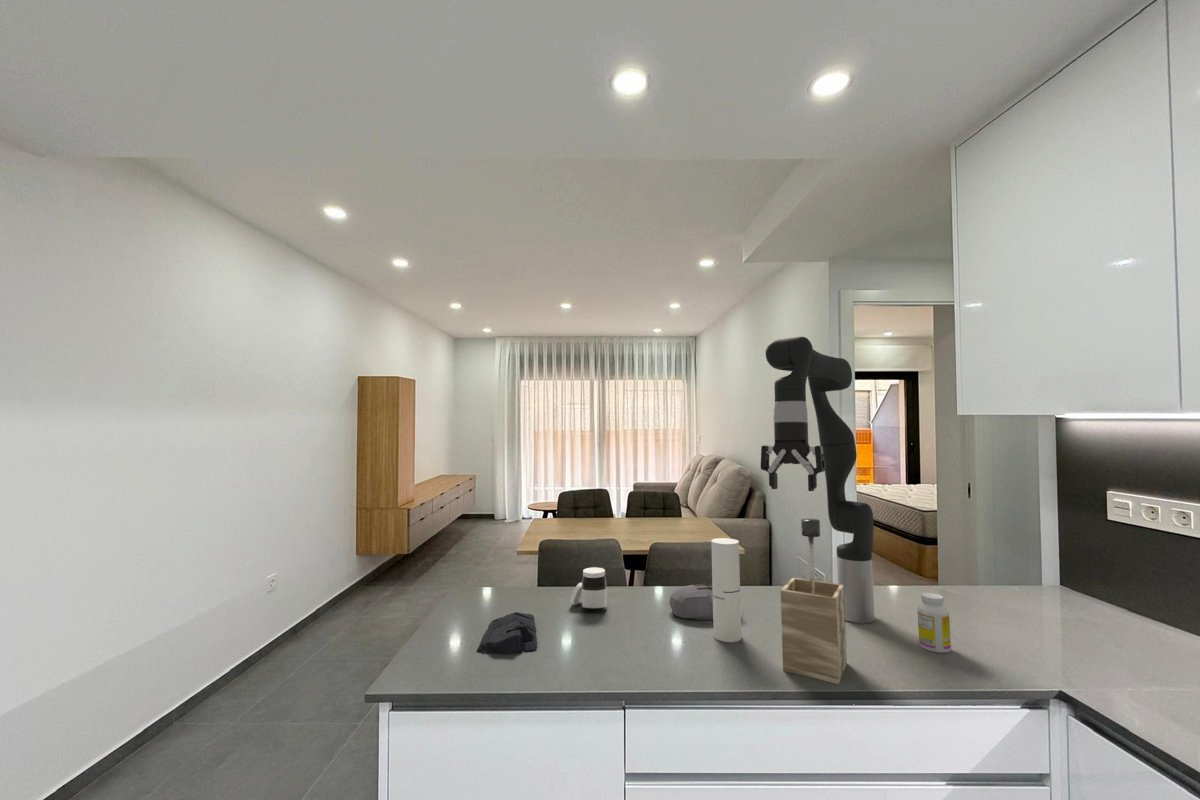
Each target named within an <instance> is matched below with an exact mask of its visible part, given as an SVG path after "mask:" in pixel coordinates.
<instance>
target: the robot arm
mask: <svg viewBox="0 0 1200 800" xmlns="http://www.w3.org/2000/svg"><path fill="white" fill-rule="evenodd" d="M765 359H766V361H767V363H768V365H770V367H772V368H773V369H776V370H780V371H785V372H790V373H789V374H787V375H785V376H781V377H780V378H777V379H775V381H774V386H773V387H774V408H773V426H774V427H773V429H774V430H773V431H774V435H773V436H774V445H773V446H770V445H768V444H767V445H761V449H760V470H761V471H765V472H767V474H768V486H769V487H770V488H771V489H772V490H778V473H777V471H778V470H779V468H780V467H781V466H782V465H783V464H784V465H787V464H788V465H790V464H792V465H801V466H802V467H803V468H804V469H805V471H806V472H807V473H808V475H807V485H808V486H807V487H808V488H807V489H808V492H814V491H815V490H816V489H817V487H818V485H817V483H818V482H817V481H818V478H817V475H819V474H820V473H823V472H824V474H825V476H824V477H825V483H826V485H825V486H826V492H827V493H826V494H827V495H826V496H827V497H826V498H827V513H828V520H829V524H830V525H831V527H832V529H833V530H835V531H837V532H842V533H847V534H853V536H852V540H851V542H847V543H841V544H839V545H837V546H836V568H837V570H836V571H837V572H836V573H837V584H841V585H844V604H845V621H847V622H852V623H855V624H870V623H871V624H872V623H873V622H875V598H874V578H873V575H874V573H873V550H874V521H875V520H874V513H873V512H874V511H873V509H872V507H871V505H869V504H868V503H865V502H861V501H854V500H853V501H850V500H847V498H846V491H845V490H846V489H845V488H846V482H847V479H848V477H849V475H850V474H851V472H852V469H854V466H855V464H856V461H857V457H858V456H857V454H858V453H857V446H856V442H855V441H856V440H855V436H854V432H853V431H852V429H851V428H850V427H849V425H847V424H846V422H845V421H844V420H843V419H842V418H841V417H840V415H838V414H837V413H836V411H835V410H834V408H833V407H832V405H831V403H830V401H829V398H828V395H827V392H834V391H835V392H837V391H844V390H846V389H848V388H849V387H850V386H852V382H853V371H852V368H851V365H850V363H849V361H848V360H847V359H845V358H842V357H834V356H830V355H826V354H823V353H820V352H818V351H816V350H814V347H813V344H812V341H810V340H809V338H807V336H806V337H805V336H794V337H788V338H780V339H779V338H778V339H775V340H772V341H770V343H769V344H768V345H767V347H766V349H765ZM807 381H808V386H809V390H810V394H811V398H812V399H811V400H812V403H813V407H814V411H815V415H816V423H817V430H818V437H819V445H815V446H810V444H809V420H808V415H809V414H808V408H807V396H806V394H807V393H806V392H807V391H806V390H807V389H806V387H807ZM772 453H774V455H776V457H775V458H774V460H773V461H772V463H771V465H770V455H772ZM810 453H812V455H813V456H814V457H815V465H816V467H814V465H813V464H812V463H813V462H812V461H811V460H810V459H809V457H808V455H809V454H810Z"/></svg>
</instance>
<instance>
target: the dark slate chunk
mask: <svg viewBox="0 0 1200 800" xmlns="http://www.w3.org/2000/svg"><path fill="white" fill-rule="evenodd" d="M537 648H538V638H537V627H536V622H535V617H534V615H533V614H532V613H531V614H530V613H524V612H523V613H522V612H518V611H516V612H513V613H512V612H511V613H509V614H506V615H505V616H502V617H498V618H496V619H493V620H491V621H490V623H489V624H488V627H487V629H486V630H485V632H484V634H483V636H482V638H481V640H480V643H479V645H478V647H477V649H476V652H477V653H481V655H493V654H495V655H496V654H497V655H508V654H510V655H511V654H512V655H513V654H514V655H516V654H521V653H528V652H533V651H536V650H537Z"/></svg>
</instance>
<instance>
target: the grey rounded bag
mask: <svg viewBox="0 0 1200 800" xmlns="http://www.w3.org/2000/svg"><path fill="white" fill-rule="evenodd" d="M668 604H669V606H670V608H671V613H672V614H673V615H675V616H676V617H678V618H683V619H689V620H690V619H691V620H696V621H697V620H698V621H713V587H712V583H699V584H689V585H685V586H681V587H678V588H677V589H675V590H674V591H673V592H672V593H670V596H669V601H668Z"/></svg>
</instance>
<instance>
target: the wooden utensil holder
mask: <svg viewBox="0 0 1200 800" xmlns="http://www.w3.org/2000/svg"><path fill="white" fill-rule="evenodd" d="M815 590H816V595H815V594H810V579H805V578H798V577H791V578H790V580H789V581H788V582H787V583H786V584H785V585H784V586H783V587H782V588H781V589H780V610H781V611H780V612H781V616H780V617H781V642H782V643H781V644H782V650H781V652H782V671H783V672H787V673H791V674H796V675H798V676H799V675H800V676H804V677H808V678H811V679H816V680H820V681H825V682H828V683H831V684H837V685H839V684H840V682H841V679H842V676H843V673H844V672H845V668H846V666H847V663H848V662H847V660H848V659H847V639H846V638H847V637H846V634H847V633H846V620H845V604H844V585H841V584H838V583H832V582H827V581H820V580H815Z"/></svg>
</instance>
